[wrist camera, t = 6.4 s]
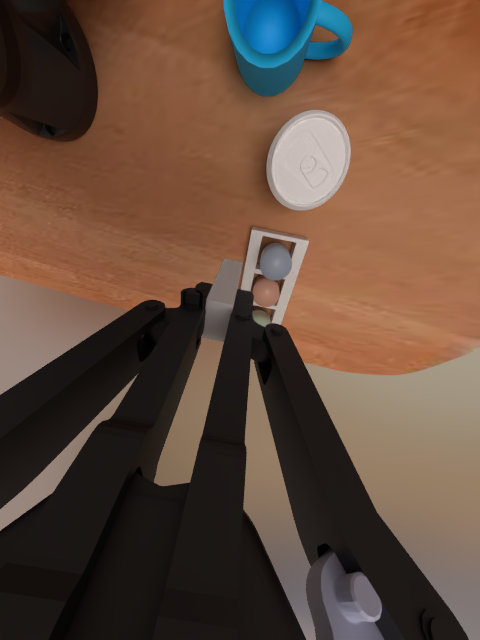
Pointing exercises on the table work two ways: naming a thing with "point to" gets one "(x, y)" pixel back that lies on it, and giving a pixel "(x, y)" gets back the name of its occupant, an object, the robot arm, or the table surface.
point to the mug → (281, 39)
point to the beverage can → (308, 160)
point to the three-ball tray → (287, 282)
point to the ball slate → (275, 261)
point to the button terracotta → (265, 291)
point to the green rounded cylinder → (261, 317)
